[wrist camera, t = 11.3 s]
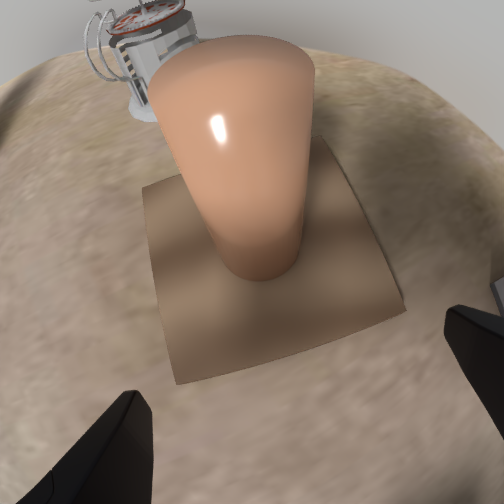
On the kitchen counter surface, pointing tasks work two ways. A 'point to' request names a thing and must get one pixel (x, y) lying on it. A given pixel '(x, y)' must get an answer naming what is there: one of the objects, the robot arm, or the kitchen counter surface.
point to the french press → (145, 46)
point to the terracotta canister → (242, 144)
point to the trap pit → (499, 294)
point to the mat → (265, 292)
